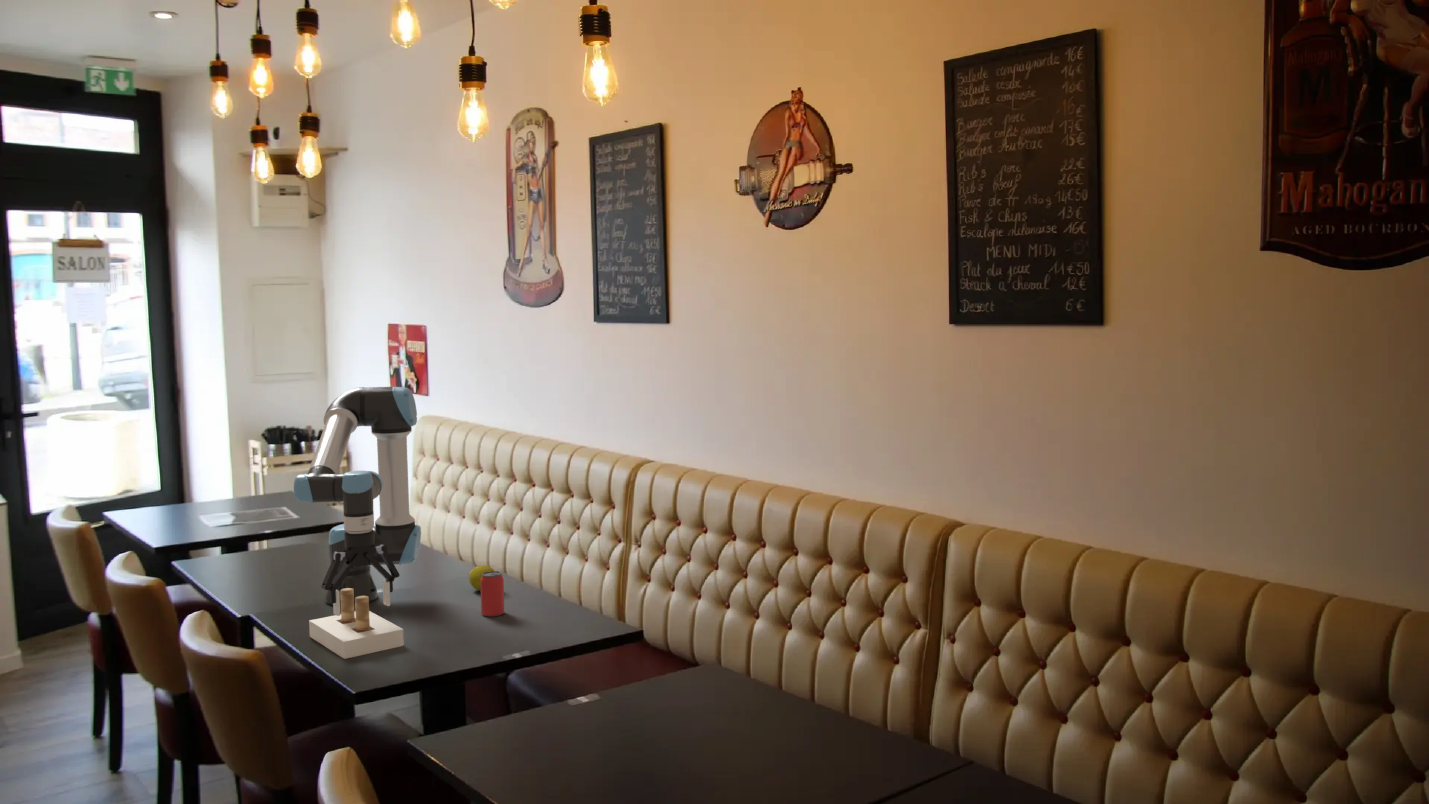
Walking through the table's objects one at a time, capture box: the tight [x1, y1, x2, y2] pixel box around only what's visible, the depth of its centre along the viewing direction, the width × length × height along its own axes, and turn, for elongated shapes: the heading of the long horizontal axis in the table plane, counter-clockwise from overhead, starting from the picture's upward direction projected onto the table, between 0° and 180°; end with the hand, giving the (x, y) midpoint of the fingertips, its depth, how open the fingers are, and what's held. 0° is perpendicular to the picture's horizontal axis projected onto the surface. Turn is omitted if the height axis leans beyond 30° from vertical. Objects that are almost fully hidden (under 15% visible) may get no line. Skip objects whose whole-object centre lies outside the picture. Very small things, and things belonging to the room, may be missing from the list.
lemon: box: [468, 564, 495, 592], centre depth 342 cm, size 11×8×8 cm
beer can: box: [480, 570, 505, 618], centre depth 317 cm, size 7×7×12 cm
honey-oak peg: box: [354, 596, 370, 633], centre depth 289 cm, size 4×4×13 cm
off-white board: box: [308, 610, 405, 660], centre depth 293 cm, size 16×24×4 cm, turn 40°
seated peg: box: [340, 588, 355, 624], centre depth 296 cm, size 4×4×13 cm
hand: (362, 609), depth 289 cm, fingers open, 13 cm apart
